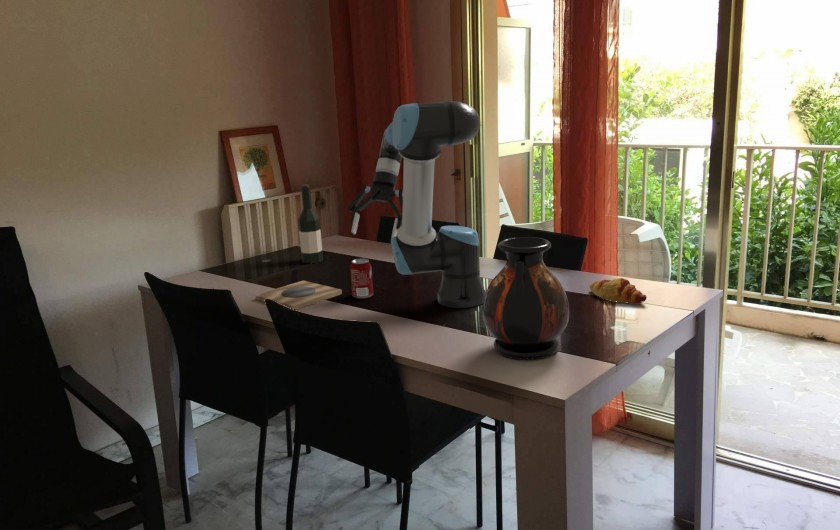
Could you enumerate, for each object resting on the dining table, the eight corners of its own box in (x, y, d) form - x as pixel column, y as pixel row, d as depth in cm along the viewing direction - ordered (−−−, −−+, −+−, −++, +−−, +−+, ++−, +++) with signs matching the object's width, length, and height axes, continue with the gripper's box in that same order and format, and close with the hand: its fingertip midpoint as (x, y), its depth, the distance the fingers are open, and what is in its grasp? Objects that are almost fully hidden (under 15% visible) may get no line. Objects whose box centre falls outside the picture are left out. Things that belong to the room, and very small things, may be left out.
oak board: (341, 293, 241) (341, 288, 240) (293, 310, 227) (293, 304, 226) (303, 284, 254) (303, 279, 254) (255, 299, 240) (255, 294, 239)
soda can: (370, 299, 233) (367, 263, 230) (350, 299, 234) (347, 263, 231) (375, 293, 239) (373, 258, 236) (355, 293, 241) (353, 258, 238)
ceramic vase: (492, 332, 199) (489, 231, 191) (573, 336, 192) (573, 232, 185) (475, 363, 179) (471, 252, 172) (564, 368, 173) (564, 254, 165)
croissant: (584, 303, 229) (575, 284, 225) (602, 283, 233) (594, 264, 229) (640, 318, 212) (632, 297, 208) (659, 295, 216) (651, 275, 212)
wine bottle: (321, 263, 281) (314, 186, 274) (300, 264, 282) (292, 187, 274) (324, 257, 289) (317, 182, 282) (303, 258, 290) (296, 183, 282)
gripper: (425, 182, 241) (412, 244, 236) (353, 174, 247) (340, 234, 242) (420, 174, 234) (408, 237, 229) (347, 165, 239) (333, 227, 235)
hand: (373, 235), depth 236 cm, fingers open, 13 cm apart
